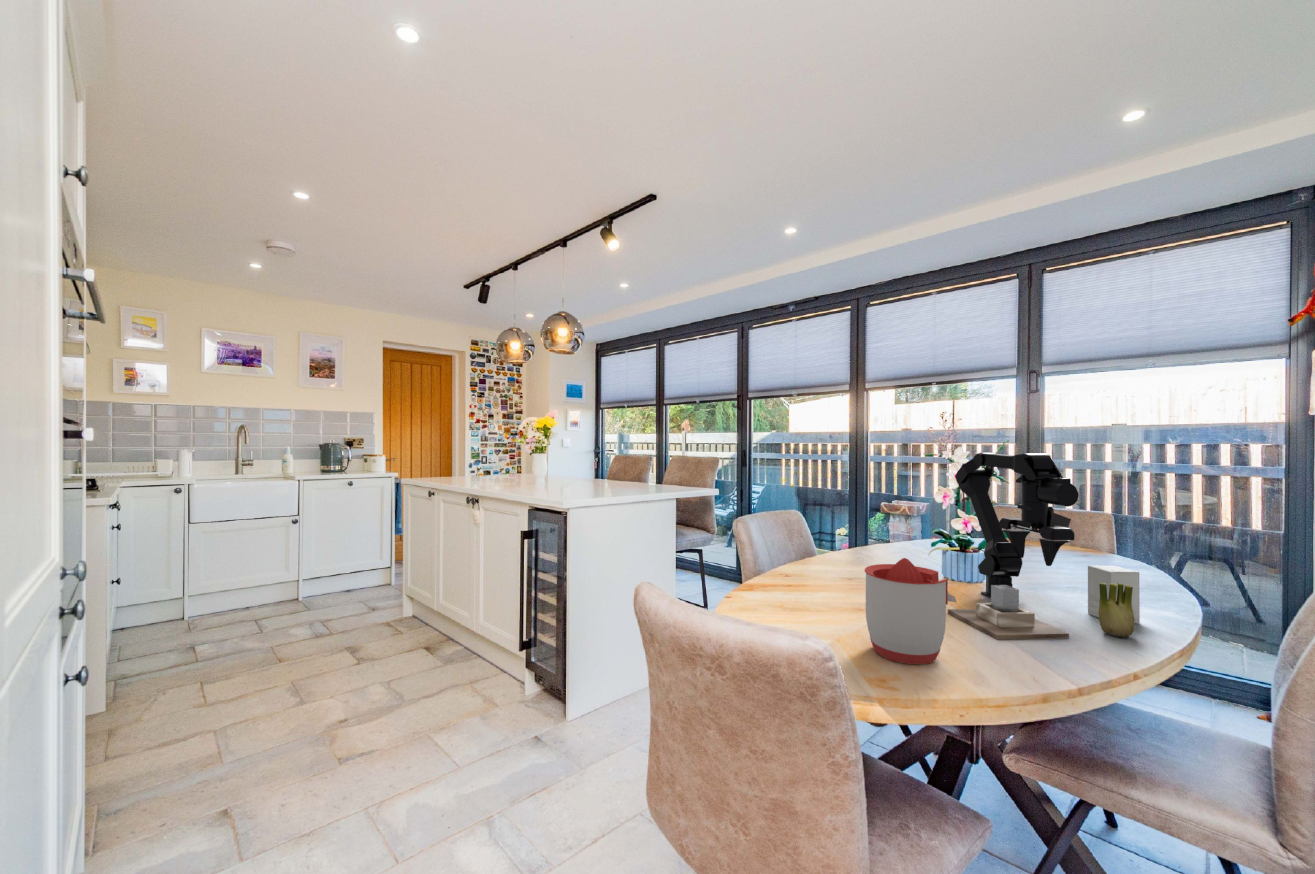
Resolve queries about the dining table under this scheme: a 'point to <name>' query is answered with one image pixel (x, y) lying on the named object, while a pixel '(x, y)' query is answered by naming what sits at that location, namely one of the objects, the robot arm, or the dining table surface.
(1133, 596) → the supplement box
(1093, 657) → the dining table surface
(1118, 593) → the fennel bulb
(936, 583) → the citrus juicer
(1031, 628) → the socket board
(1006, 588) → the metal peg
